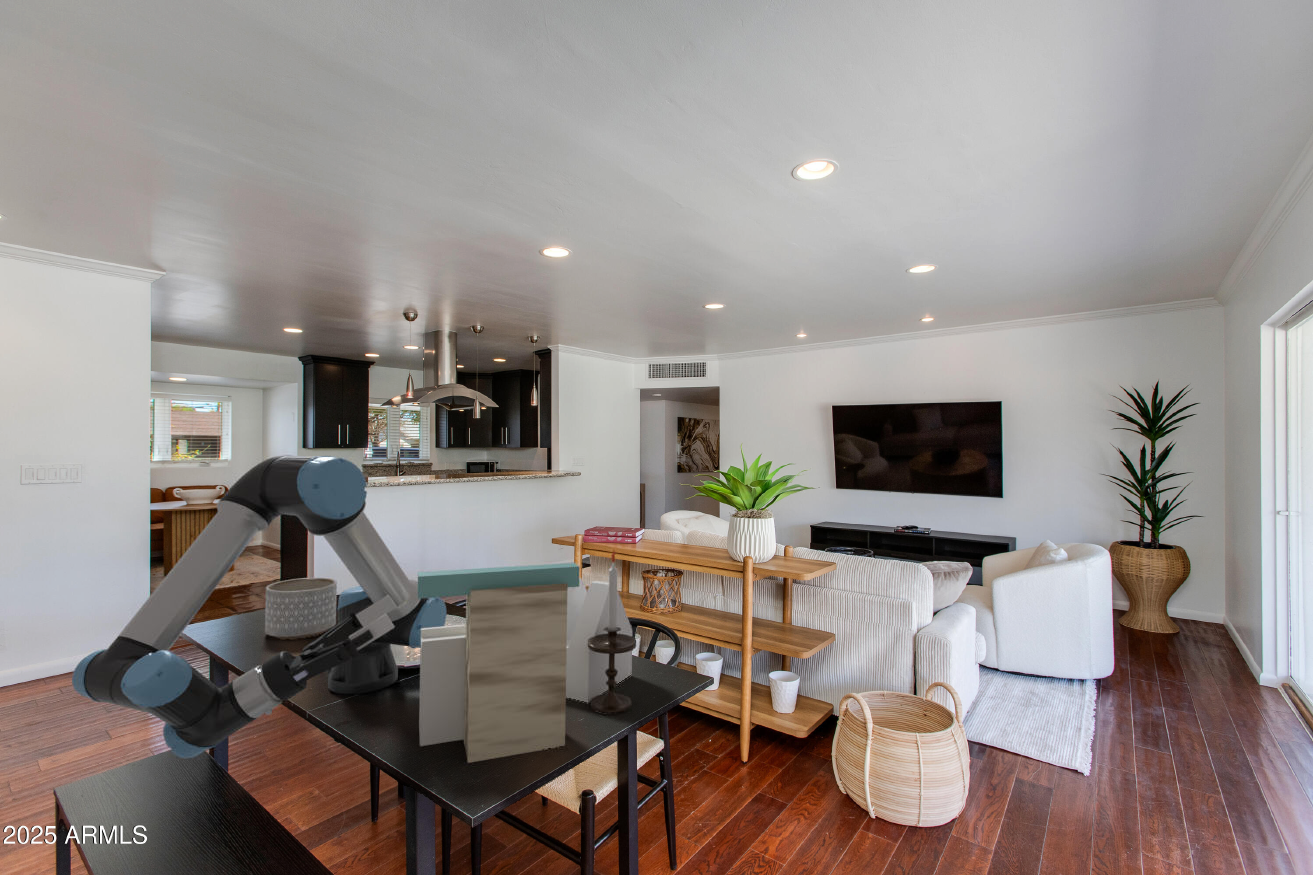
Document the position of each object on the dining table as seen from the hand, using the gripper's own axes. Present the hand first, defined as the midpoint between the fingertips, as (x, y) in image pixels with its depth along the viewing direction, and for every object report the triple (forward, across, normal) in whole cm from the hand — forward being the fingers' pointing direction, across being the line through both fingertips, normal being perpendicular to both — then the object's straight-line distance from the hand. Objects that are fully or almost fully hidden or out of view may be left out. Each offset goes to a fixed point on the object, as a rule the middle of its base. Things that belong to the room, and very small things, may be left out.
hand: (391, 610), depth 112 cm
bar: (+18, 0, -8) cm, 20 cm away
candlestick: (+25, -11, -47) cm, 54 cm away
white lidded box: (-2, -10, -31) cm, 33 cm away
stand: (+5, 0, -35) cm, 36 cm away
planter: (-38, -92, -11) cm, 100 cm away
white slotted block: (+23, -26, -46) cm, 58 cm away
